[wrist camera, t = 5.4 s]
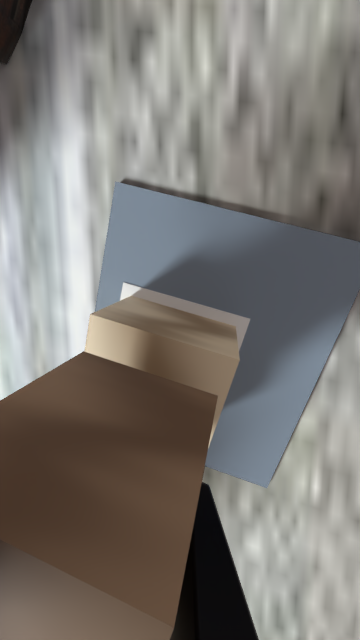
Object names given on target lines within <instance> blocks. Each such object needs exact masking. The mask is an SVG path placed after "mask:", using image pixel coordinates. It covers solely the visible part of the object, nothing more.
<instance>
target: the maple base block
mask: <svg viewBox="0 0 360 640" xmlns="http://www.w3.org/2000/svg"><path fill="white" fill-rule="evenodd" d="M85 352H87V353H90V354H93V355H96V356H99V357H102V358H105V359H108V360H111V361H114V362H118V363H121V364H124V365H127V366H130V367H133V368H136V369H139V370H142V371H145V372H148V373H151V374H154V375H157V376H160V377H163V378H166V379H169V380H172V381H175V382H178V383H181V384H184V385H187V386H190V387H193V388H196V389H199V390H202V391H205V392H208V393H211V394H214V395H217V396H218V399H217V404H216V409H215V415H214V420H213V425H212V430H211V436H210V441H209V445H210V442H211V440H212V437H213V434H214V431H215V428H216V426H217V423H218V420H219V417H220V414H221V411H222V409H223V406H224V403H225V400H226V397H227V395H228V392H229V389H230V386H231V383H232V380H233V378H234V375H235V372H236V369H237V366H238V364H239V361H240V358H239V349H238V341H237V332H236V326H233V325H229V324H226V323H223V322H219V321H216V320H212V319H209V318H206V317H202V316H199V315H195V314H192V313H188V312H185V311H182V310H178V309H175V308H171V307H168V306H165V305H161V304H158V303H154V302H151V301H148V300H144V299H141V298H137V297H134V296H130V297H127V298H125V299H123V300H121V301H118V302H116V303H114V304H112V305H109V306H107V307H105V308H103V309H101V310H98V311H96V312H94V313H92V314H90V319H89V326H88V332H87V339H86V345H85ZM208 448H209V446H208Z"/></svg>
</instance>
